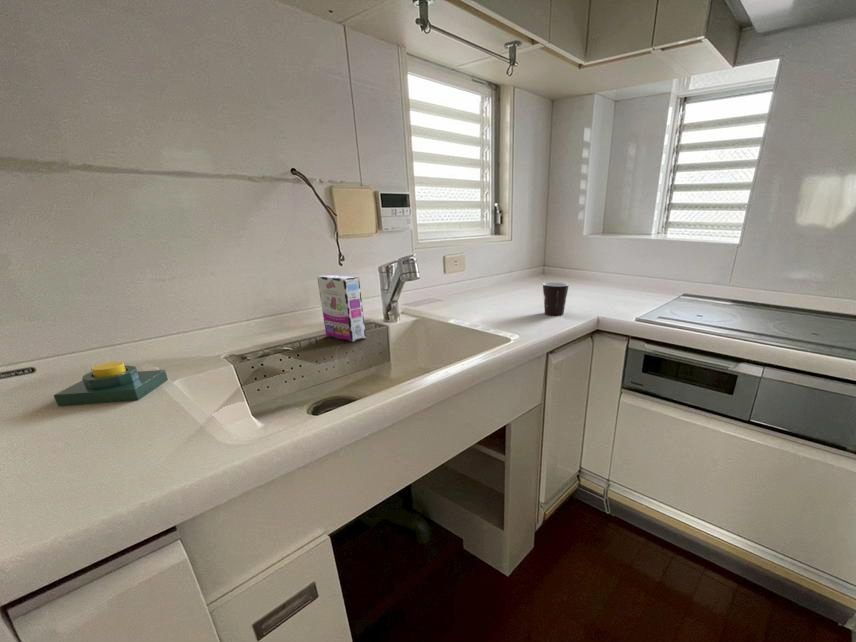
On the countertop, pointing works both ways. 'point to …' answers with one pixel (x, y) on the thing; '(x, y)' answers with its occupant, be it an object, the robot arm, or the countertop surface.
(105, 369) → the button
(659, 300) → the countertop surface
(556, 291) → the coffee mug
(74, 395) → the control box
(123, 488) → the countertop surface
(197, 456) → the countertop surface
